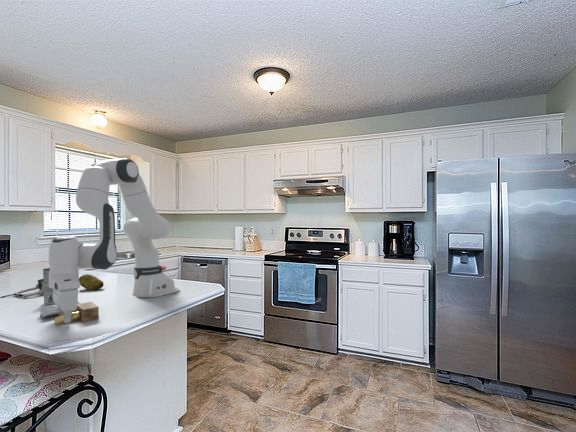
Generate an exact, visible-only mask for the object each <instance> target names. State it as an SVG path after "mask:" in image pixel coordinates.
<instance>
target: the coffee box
mask: <svg viewBox="0 0 576 432" xmlns="http://www.w3.org/2000/svg"><path fill="white" fill-rule="evenodd" d="M49 271H50V267H48V268H46V267H45V268H43V269H42V272H43V273H42V276H43V278H42V279H43V284H44V293H43V304H45V305H56V304H55V303H54V301H53V288H49Z"/></svg>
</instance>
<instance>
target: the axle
mask: <svg viewBox="0 0 576 432" xmlns="http://www.w3.org/2000/svg"><path fill="white" fill-rule="evenodd" d="M80 319H81V311H77V312H74V313H72V314H71V321H70V322H75V321H79V320H80ZM70 322H69V323H70ZM54 324H55V325H56V326H58V325H59V326H60V325H63V324H66V323H65V322H64V315H63V316H59V317H56V318H54Z"/></svg>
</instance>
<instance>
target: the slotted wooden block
mask: <svg viewBox="0 0 576 432" xmlns="http://www.w3.org/2000/svg"><path fill="white" fill-rule="evenodd" d="M80 303H81V302H80ZM77 311H81V319H79V320H80V321H81V322H82V323H86V322H91V321H97V320H99V318H100V317H99V306H98V305H96V304H95V303H94V302H93V301H89V302H82V303H81V304H77V308H76V312H77Z"/></svg>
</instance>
